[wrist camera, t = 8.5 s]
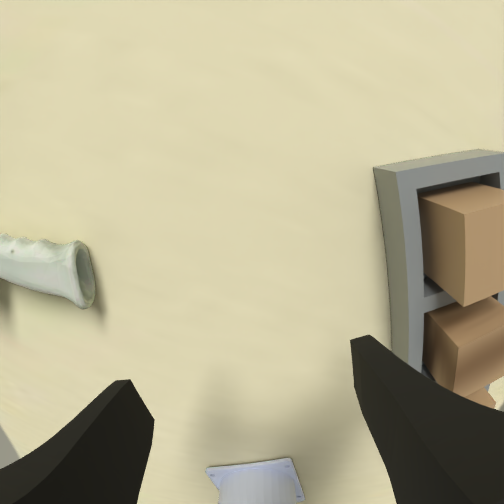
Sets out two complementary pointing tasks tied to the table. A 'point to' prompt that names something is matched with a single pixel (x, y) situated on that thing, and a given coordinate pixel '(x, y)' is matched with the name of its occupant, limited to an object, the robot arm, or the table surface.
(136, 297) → the table surface
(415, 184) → the pocket tray
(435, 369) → the walnut block
